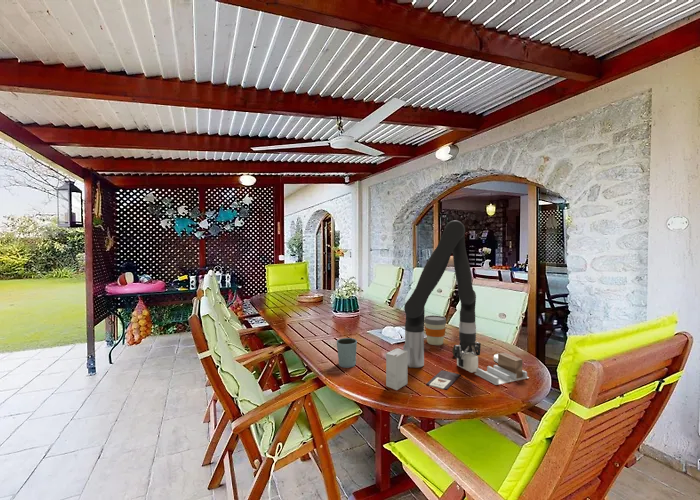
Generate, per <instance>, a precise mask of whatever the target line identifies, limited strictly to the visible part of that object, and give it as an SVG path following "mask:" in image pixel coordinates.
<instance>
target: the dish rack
mask: <svg viewBox="0 0 700 500" xmlns="http://www.w3.org/2000/svg"><path fill="white" fill-rule="evenodd" d="M474 375H476V376H477V377H479V378H482V379H484V380H485V381H487V382H489V383H492V384H493V385H495V386H497V385H502V384H507V383H511V382H516V381H522V380H526V379H529V378H530V377H529V376H528V372H527V371H526V370H523V369H522V378H517V379H516V375H517V374H515V373H513V372H511V371H508V370H506V369H504V368H502V367H500V366H498V364H493V367H492V366H490V365H488V366H486V370H483V369H482V368H479V367H478V368H476V372H474Z"/></svg>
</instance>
